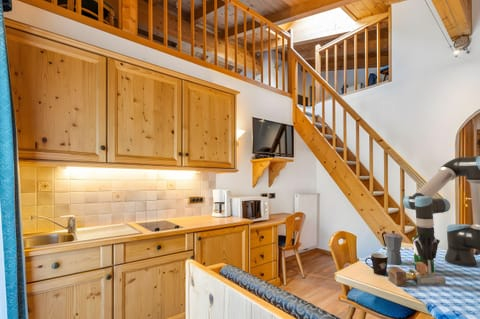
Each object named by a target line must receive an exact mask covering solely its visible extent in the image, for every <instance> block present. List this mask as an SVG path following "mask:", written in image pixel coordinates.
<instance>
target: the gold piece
mask: <svg viewBox="0 0 480 319" xmlns="http://www.w3.org/2000/svg"><path fill="white" fill-rule="evenodd" d="M416 267H417V270H416V271H417V272H419V273H420V275H421V277H427V276H426V264H425V263H423V262H416ZM411 280H417V279H416V274H415V273H410V272H406V282H407V281H410V282H412V281H411Z"/></svg>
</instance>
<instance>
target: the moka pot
mask: <svg viewBox="0 0 480 319" xmlns="http://www.w3.org/2000/svg"><path fill="white" fill-rule="evenodd" d="M395 232H396V230H391V232H388V231H387V232H386V231H385V230H384V231H383V232H382V233H381V237H382V241H383V245H384V246H385V247H386V252H385V253H386V254H385V255H387V256H388V260H387V264H390V265H394V266H400V265H402V263H403V261H402V255H401V248H402V242H403V240H404V238H403V235H401V234H400V233H395Z"/></svg>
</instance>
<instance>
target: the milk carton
mask: <svg viewBox="0 0 480 319" xmlns="http://www.w3.org/2000/svg"><path fill="white" fill-rule="evenodd" d="M417 236H418V234H415V235H414V237H412V246H413V259H414V260H413V262H414V270H416V271H417V267H416V262H423V263H424V259H422V258H420V257H419V254H418V251H417V249H416V246H415V244H414V242H413V240H416V239H417ZM419 242H420V241H419ZM432 243H433V242H432ZM419 244H420V246H421V242H420V243H419ZM421 248H422V246H421ZM426 273H428V272H426ZM431 273H435V259H434V258H433V260H432V266H431Z"/></svg>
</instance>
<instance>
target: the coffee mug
mask: <svg viewBox="0 0 480 319" xmlns="http://www.w3.org/2000/svg"><path fill="white" fill-rule="evenodd" d="M368 260H371V264H372V265H370V264H369V263H367V261H368ZM387 260H388V256H387V255H386V254H385V253H381V252H380V253H379V252H373V253H370V257H366V258H365V260H364V262H365V264H366V265H367V266H368V267H370V268H371V269H372V271H373V274H374V275H377V276H386V275H387V273H388V263H387Z"/></svg>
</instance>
